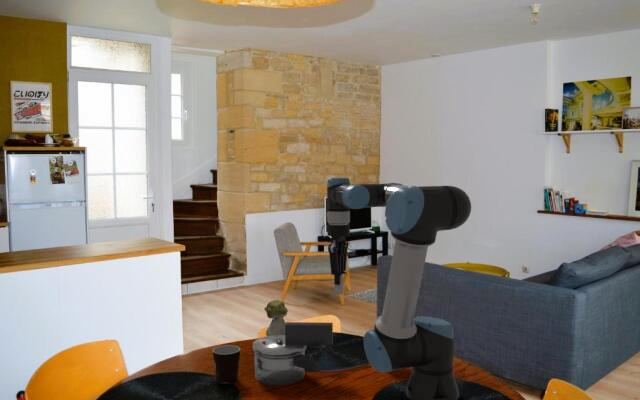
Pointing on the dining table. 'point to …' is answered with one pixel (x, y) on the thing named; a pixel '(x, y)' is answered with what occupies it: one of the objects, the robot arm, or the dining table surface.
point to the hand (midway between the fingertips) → (338, 293)
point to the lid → (295, 339)
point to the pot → (284, 368)
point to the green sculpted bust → (276, 317)
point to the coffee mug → (226, 363)
